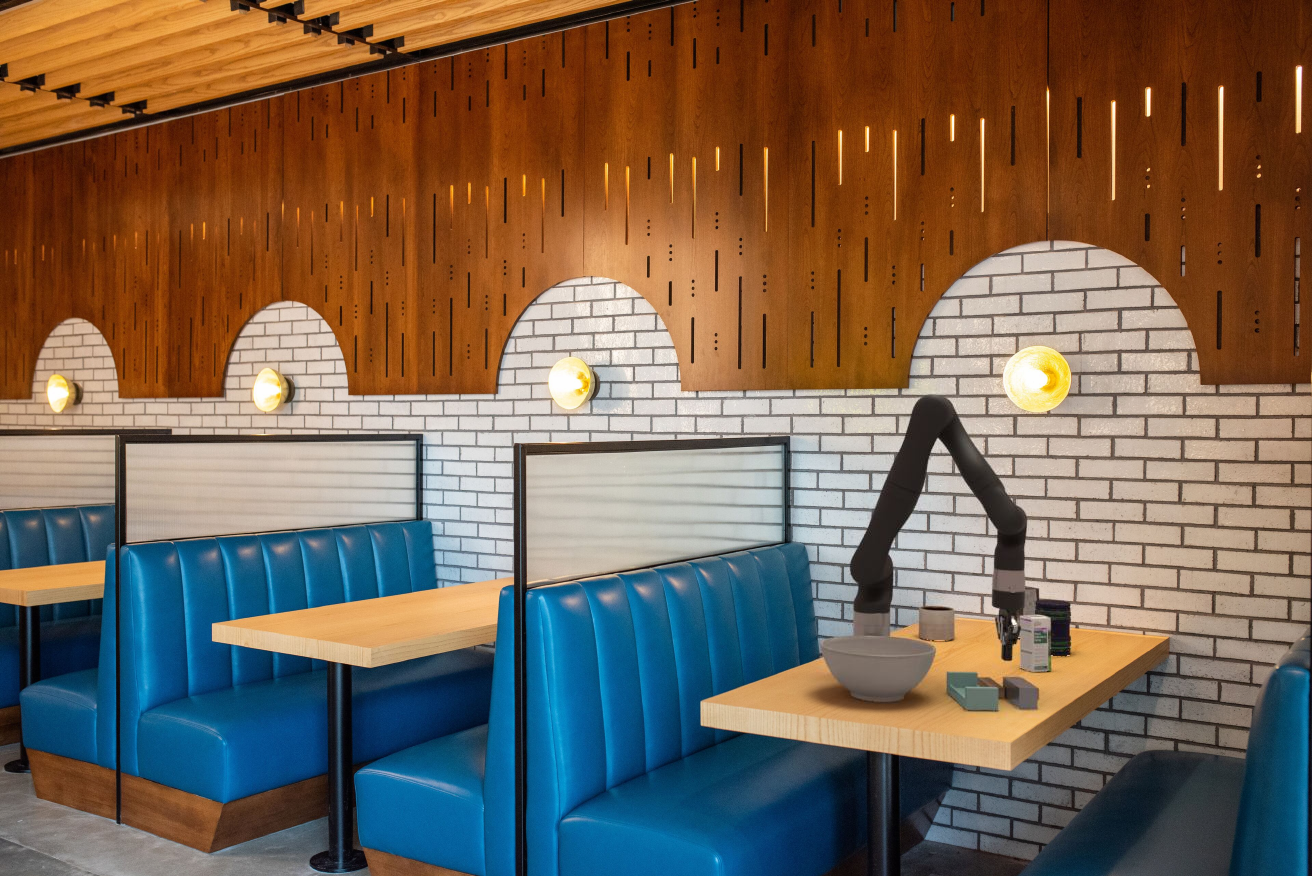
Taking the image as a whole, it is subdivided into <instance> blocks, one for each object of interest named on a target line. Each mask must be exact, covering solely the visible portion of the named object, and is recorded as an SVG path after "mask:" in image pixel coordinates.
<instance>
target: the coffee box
mask: <svg viewBox="0 0 1312 876" xmlns="http://www.w3.org/2000/svg"><path fill="white" fill-rule="evenodd" d="M1037 600H1040V588H1037V587H1034V586H1033V587H1032V586H1027V585H1025V607H1024V609H1021V610H1017V617H1018V619H1019V620H1018V625H1020V616H1026V615H1036V614H1035V610H1036V609H1035V606H1036V604H1035V601H1037ZM1019 637H1020V634H1019Z"/></svg>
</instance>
